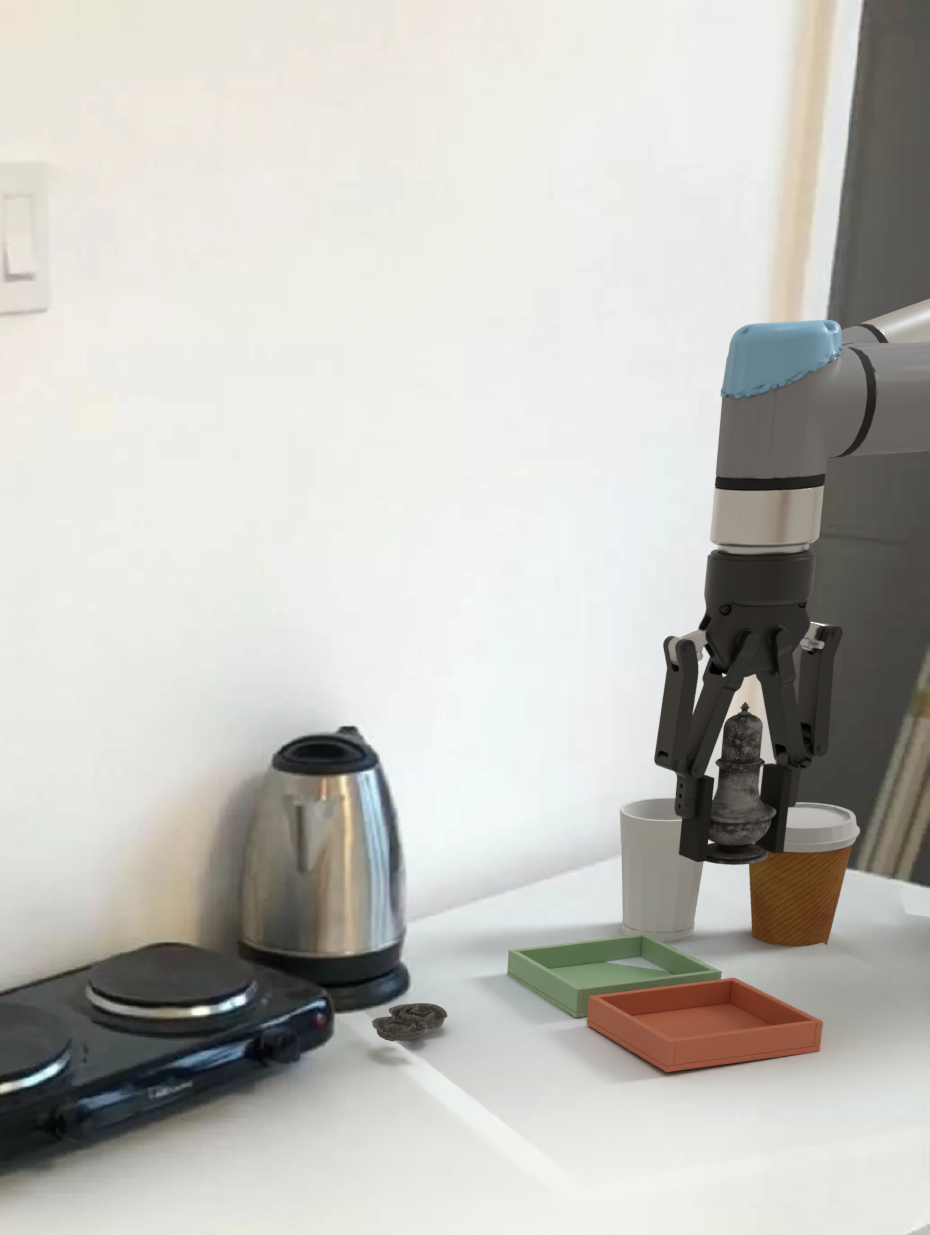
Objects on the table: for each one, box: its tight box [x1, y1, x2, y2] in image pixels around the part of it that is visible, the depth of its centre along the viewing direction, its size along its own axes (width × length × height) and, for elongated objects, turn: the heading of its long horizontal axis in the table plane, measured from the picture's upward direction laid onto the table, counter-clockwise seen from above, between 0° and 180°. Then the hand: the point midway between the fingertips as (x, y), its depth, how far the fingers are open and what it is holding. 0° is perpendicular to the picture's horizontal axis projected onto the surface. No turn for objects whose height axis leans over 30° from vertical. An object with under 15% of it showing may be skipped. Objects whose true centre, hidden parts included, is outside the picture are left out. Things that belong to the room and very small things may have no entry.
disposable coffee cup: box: [748, 801, 861, 947], centre depth 182 cm, size 10×10×12 cm
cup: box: [619, 797, 704, 942], centre depth 187 cm, size 8×8×12 cm
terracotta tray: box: [586, 977, 824, 1073], centre depth 163 cm, size 13×12×2 cm
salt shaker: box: [705, 701, 776, 866], centre depth 157 cm, size 6×6×12 cm
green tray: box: [506, 934, 722, 1019], centre depth 176 cm, size 13×12×2 cm
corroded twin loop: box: [371, 1002, 448, 1043], centre depth 169 cm, size 5×8×1 cm, turn 141°
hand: (730, 852), depth 160 cm, fingers closed on salt shaker, 6 cm apart
